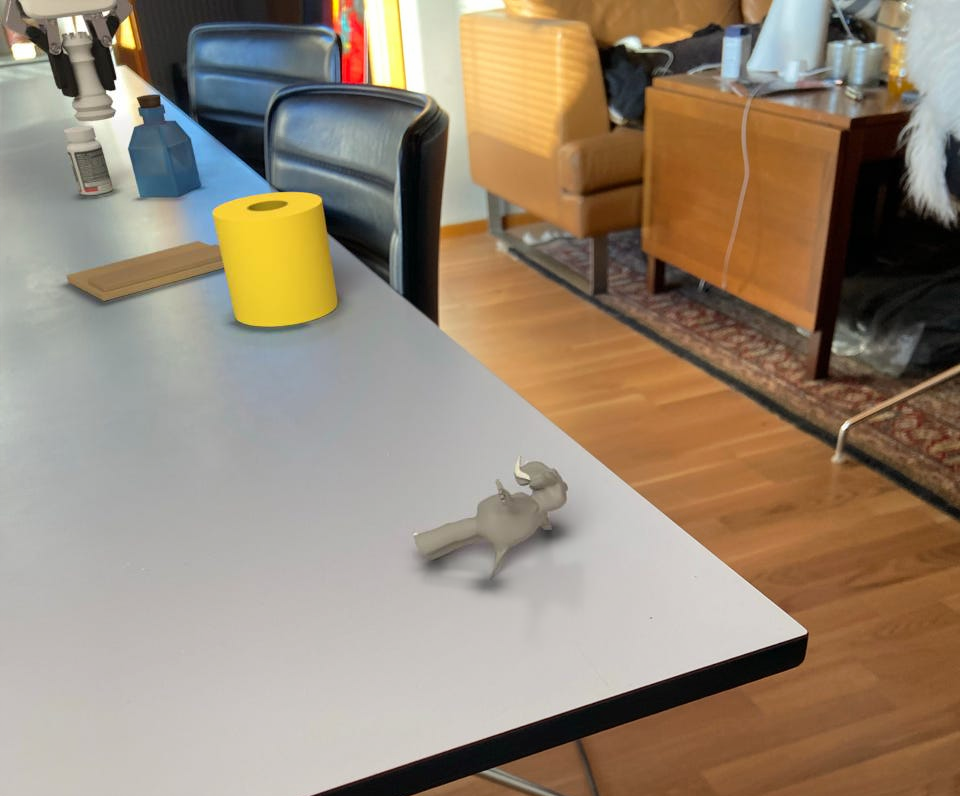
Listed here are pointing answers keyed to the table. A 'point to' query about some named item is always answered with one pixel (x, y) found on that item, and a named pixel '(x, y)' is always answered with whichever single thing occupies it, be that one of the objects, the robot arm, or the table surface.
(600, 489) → the table surface
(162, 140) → the perfume bottle
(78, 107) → the rook chess piece
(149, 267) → the wooden board
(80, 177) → the pill bottle
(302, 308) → the yellow toilet paper roll
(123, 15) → the robot arm
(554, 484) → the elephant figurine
